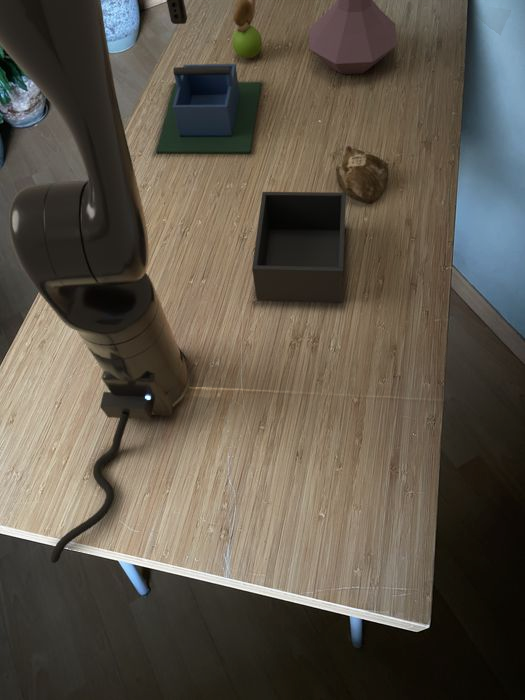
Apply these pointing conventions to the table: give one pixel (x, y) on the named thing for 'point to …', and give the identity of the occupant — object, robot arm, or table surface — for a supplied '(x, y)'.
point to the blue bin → (206, 100)
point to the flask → (352, 36)
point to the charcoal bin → (300, 247)
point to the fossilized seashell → (362, 175)
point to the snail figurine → (246, 30)
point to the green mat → (214, 145)
